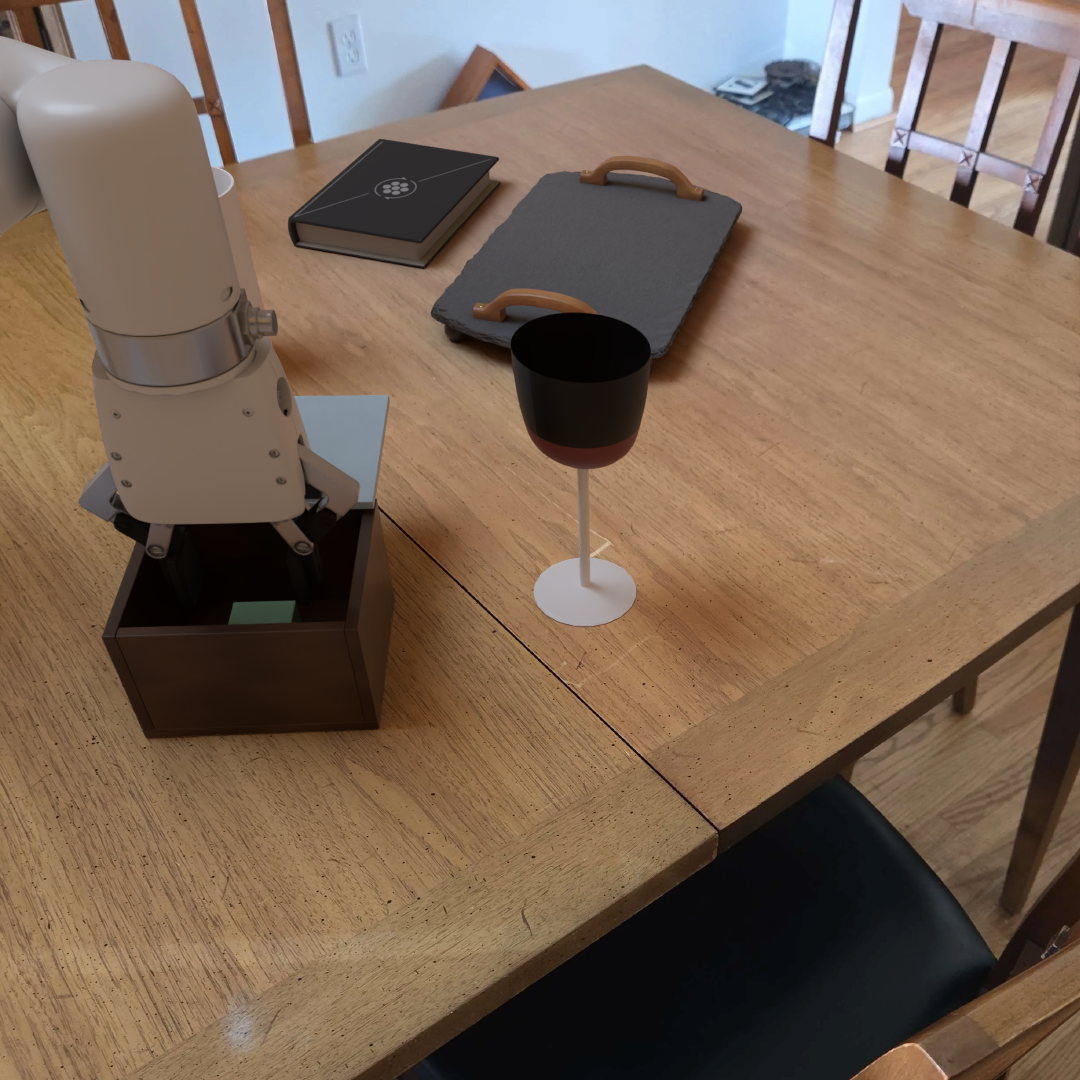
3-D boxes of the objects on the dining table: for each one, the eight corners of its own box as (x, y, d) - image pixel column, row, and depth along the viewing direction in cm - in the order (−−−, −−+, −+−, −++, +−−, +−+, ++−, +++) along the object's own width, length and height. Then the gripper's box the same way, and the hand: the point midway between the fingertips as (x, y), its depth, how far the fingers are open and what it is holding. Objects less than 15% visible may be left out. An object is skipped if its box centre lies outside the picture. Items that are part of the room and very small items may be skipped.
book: (380, 164, 134) (377, 137, 132) (501, 183, 132) (499, 156, 130) (290, 246, 120) (284, 217, 117) (424, 269, 117) (420, 240, 115)
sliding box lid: (142, 514, 74) (130, 481, 72) (183, 404, 83) (173, 372, 81) (374, 509, 76) (368, 476, 74) (390, 401, 84) (385, 370, 82)
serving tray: (655, 399, 103) (658, 336, 98) (413, 354, 106) (404, 291, 102) (750, 216, 129) (755, 160, 124) (553, 185, 132) (551, 129, 128)
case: (145, 738, 73) (100, 637, 67) (185, 603, 82) (149, 502, 76) (379, 729, 75) (357, 629, 68) (394, 598, 83) (377, 498, 77)
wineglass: (560, 541, 88) (551, 299, 74) (662, 578, 86) (673, 335, 72) (505, 603, 83) (484, 357, 69) (611, 644, 81) (613, 397, 67)
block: (236, 688, 76) (222, 644, 73) (247, 645, 78) (233, 601, 76) (299, 686, 76) (287, 642, 73) (307, 643, 79) (296, 600, 76)
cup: (160, 365, 103) (103, 187, 92) (233, 328, 108) (188, 154, 96) (222, 397, 100) (172, 217, 89) (294, 358, 105) (256, 182, 93)
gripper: (352, 295, 63) (396, 550, 76) (19, 297, 61) (122, 556, 74) (337, 370, 58) (386, 629, 71) (-28, 373, 56) (91, 638, 69)
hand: (250, 590), depth 72 cm, fingers open, 6 cm apart
